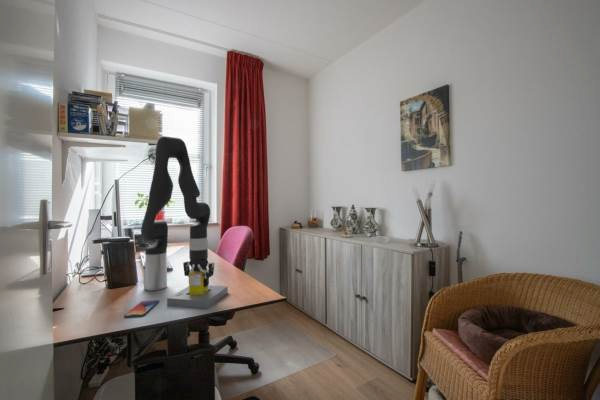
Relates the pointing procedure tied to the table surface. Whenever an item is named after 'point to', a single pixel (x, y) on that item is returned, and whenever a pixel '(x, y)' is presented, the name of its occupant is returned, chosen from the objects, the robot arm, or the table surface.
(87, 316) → the table surface
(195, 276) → the supplement box
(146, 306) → the smartphone
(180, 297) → the socket plate
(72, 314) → the table surface
